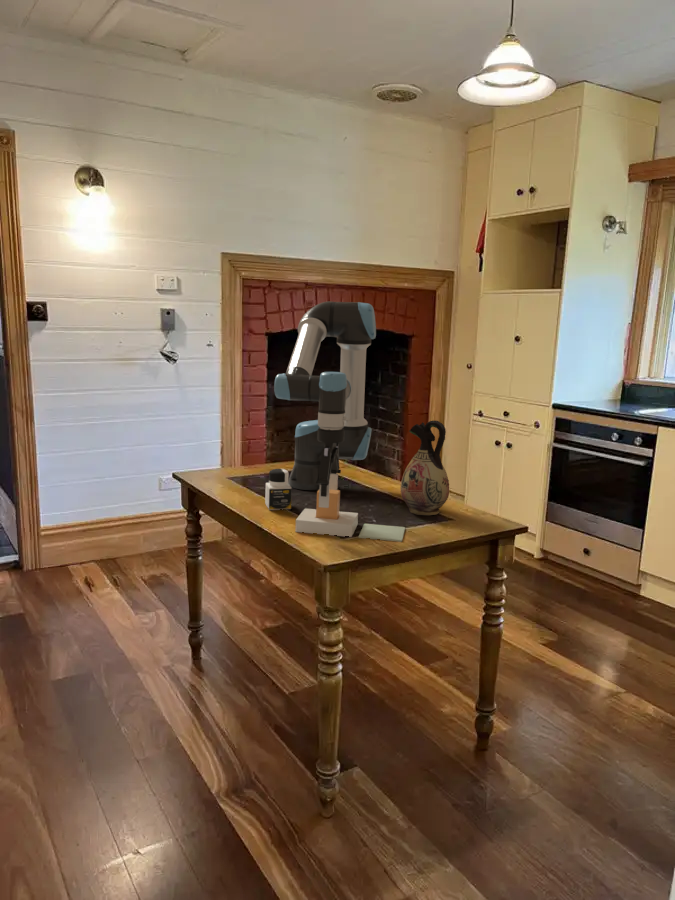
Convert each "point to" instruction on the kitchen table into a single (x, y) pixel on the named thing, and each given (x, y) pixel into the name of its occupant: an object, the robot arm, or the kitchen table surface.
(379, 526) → the mat
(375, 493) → the kitchen table surface
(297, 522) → the socket housing
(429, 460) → the ceramic jug
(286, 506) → the medicine bottle
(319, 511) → the plug
